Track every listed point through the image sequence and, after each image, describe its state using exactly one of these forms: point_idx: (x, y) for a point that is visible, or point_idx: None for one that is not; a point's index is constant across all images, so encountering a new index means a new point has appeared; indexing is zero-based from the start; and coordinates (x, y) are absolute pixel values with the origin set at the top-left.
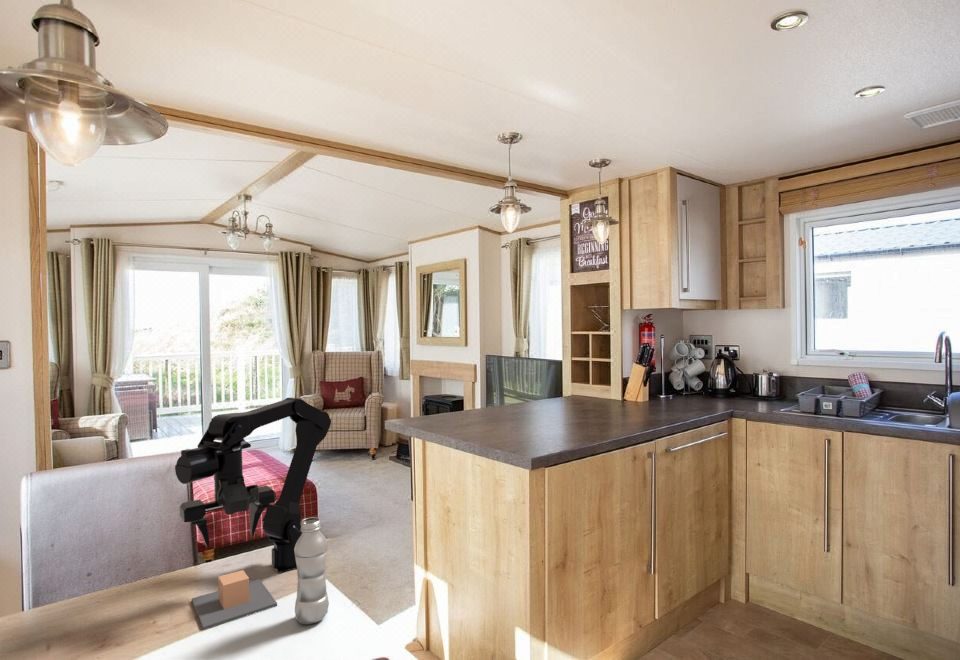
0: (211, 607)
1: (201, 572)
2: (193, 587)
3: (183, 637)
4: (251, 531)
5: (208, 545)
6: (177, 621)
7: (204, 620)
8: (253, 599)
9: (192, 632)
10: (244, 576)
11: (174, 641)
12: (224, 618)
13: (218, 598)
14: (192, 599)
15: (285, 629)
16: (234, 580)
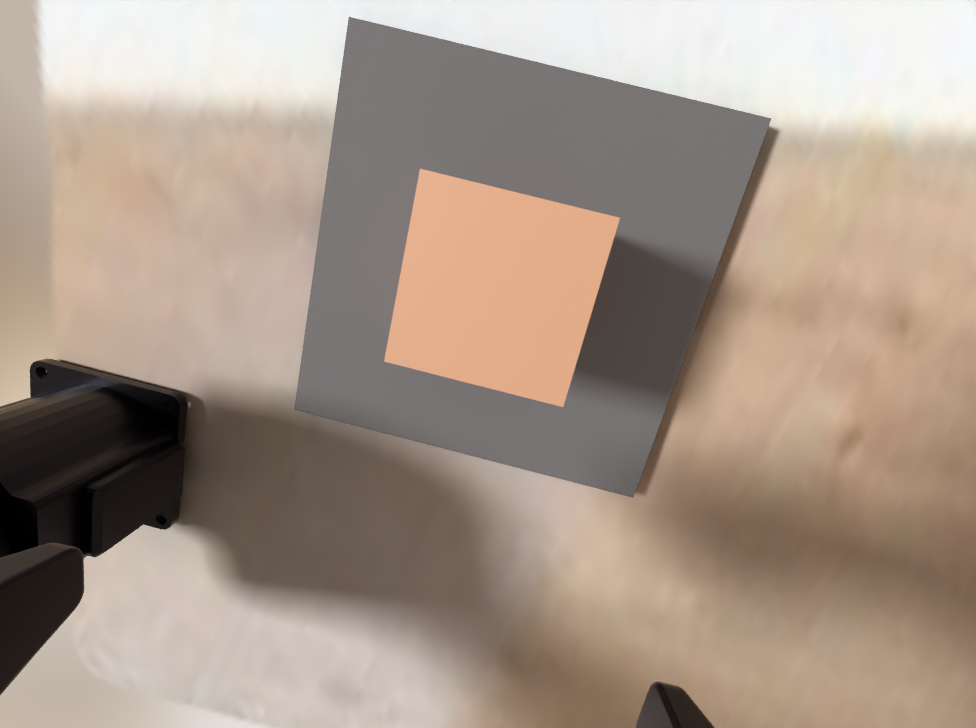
0: (621, 313)
1: (457, 717)
2: (552, 614)
3: (867, 141)
4: (14, 605)
5: (674, 705)
6: (784, 347)
7: (726, 192)
8: None
9: (809, 154)
10: (430, 233)
11: (919, 140)
12: (646, 110)
13: None
14: (636, 484)
15: None
16: (517, 232)
